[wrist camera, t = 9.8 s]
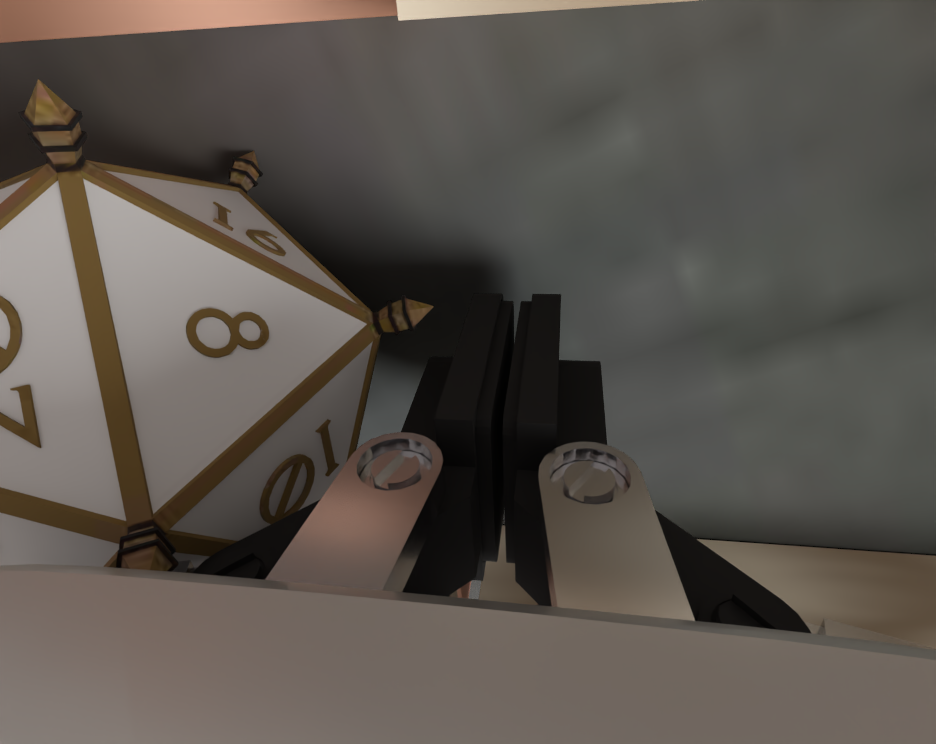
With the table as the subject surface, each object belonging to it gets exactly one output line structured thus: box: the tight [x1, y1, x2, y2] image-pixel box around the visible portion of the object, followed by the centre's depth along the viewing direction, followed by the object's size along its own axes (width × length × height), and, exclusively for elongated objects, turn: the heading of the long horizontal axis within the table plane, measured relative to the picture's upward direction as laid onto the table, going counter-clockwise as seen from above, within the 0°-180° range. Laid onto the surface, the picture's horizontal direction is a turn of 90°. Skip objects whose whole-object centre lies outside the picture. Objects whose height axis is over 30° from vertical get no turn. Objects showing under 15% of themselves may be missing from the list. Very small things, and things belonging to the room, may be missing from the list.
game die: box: [0, 79, 434, 572], centre depth 10 cm, size 9×8×10 cm
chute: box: [0, 0, 936, 649], centre depth 11 cm, size 31×15×4 cm, turn 94°
